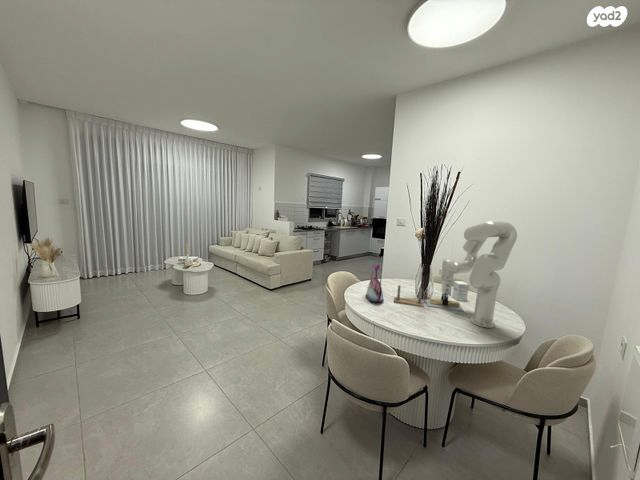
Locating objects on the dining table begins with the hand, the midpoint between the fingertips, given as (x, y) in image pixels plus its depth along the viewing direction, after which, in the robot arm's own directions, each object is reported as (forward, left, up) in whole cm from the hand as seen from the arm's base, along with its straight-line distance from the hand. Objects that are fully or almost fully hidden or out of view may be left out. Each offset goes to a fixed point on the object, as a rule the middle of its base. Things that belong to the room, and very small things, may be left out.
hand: (444, 303), depth 182 cm
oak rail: (0, 0, -1) cm, 1 cm away
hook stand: (-3, +23, -2) cm, 23 cm away
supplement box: (+19, -13, -2) cm, 23 cm away
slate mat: (0, 0, -2) cm, 2 cm away
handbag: (-7, +46, -2) cm, 47 cm away
